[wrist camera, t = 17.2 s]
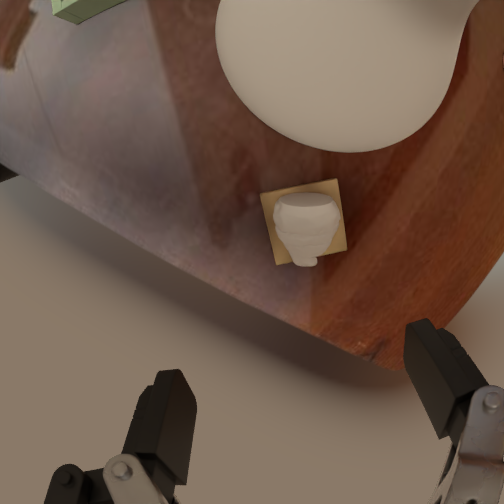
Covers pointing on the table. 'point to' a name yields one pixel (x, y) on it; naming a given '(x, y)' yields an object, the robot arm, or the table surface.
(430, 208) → the table surface
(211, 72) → the table surface
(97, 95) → the table surface
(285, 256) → the oak board
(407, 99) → the vase
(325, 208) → the garlic bulb
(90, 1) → the open box
